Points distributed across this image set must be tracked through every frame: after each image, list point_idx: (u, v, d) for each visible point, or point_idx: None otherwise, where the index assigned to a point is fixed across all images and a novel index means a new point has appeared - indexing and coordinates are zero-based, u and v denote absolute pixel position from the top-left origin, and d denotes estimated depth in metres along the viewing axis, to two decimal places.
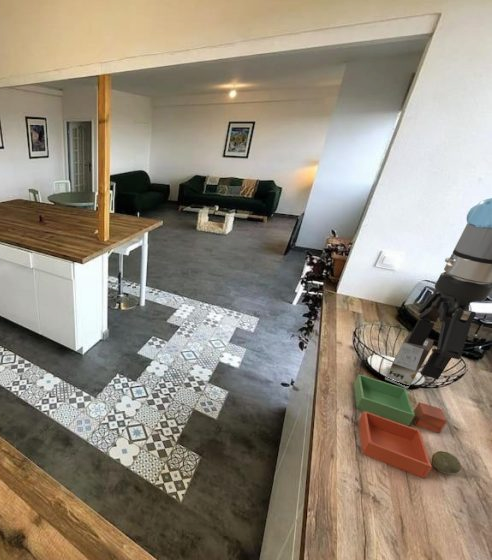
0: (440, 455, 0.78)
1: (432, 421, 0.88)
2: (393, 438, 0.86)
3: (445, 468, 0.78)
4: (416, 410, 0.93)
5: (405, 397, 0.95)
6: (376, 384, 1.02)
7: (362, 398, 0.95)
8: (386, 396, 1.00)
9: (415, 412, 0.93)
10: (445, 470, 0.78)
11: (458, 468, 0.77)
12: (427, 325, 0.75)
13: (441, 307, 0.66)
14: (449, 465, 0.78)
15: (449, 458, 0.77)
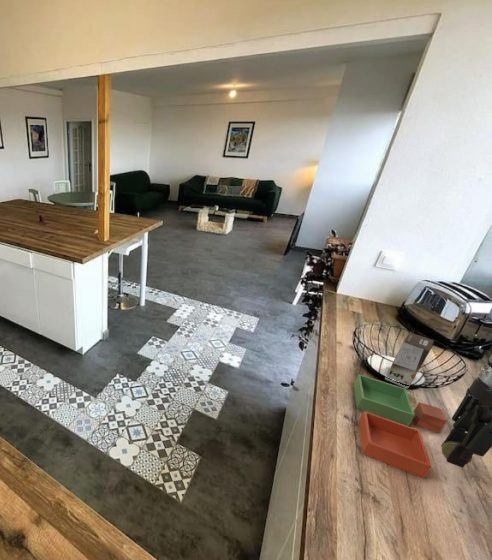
0: (450, 444, 0.76)
1: (432, 421, 0.88)
2: (393, 438, 0.86)
3: None
4: (416, 410, 0.93)
5: (405, 397, 0.95)
6: (376, 384, 1.02)
7: (362, 398, 0.95)
8: (386, 396, 1.00)
9: (415, 412, 0.93)
10: None
11: None
12: (462, 435, 0.76)
13: (475, 410, 0.70)
14: None
15: None
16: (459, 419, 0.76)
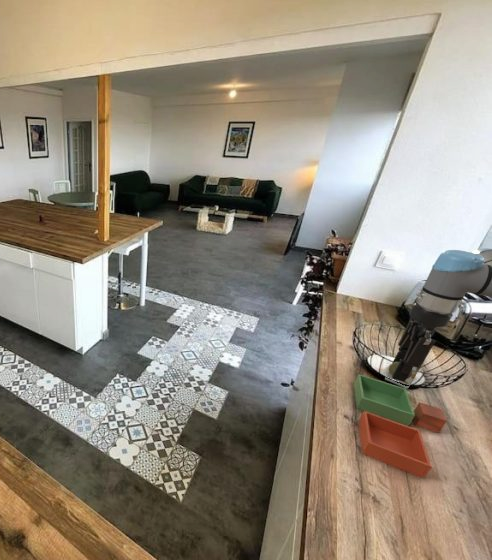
0: (395, 364, 0.91)
1: (432, 421, 0.88)
2: (393, 438, 0.86)
3: None
4: (416, 410, 0.93)
5: (405, 397, 0.95)
6: (376, 384, 1.02)
7: (362, 398, 0.95)
8: (386, 396, 1.00)
9: (415, 412, 0.93)
10: None
11: (409, 374, 0.89)
12: (405, 356, 0.91)
13: (413, 330, 0.85)
14: None
15: None
16: (403, 342, 0.91)
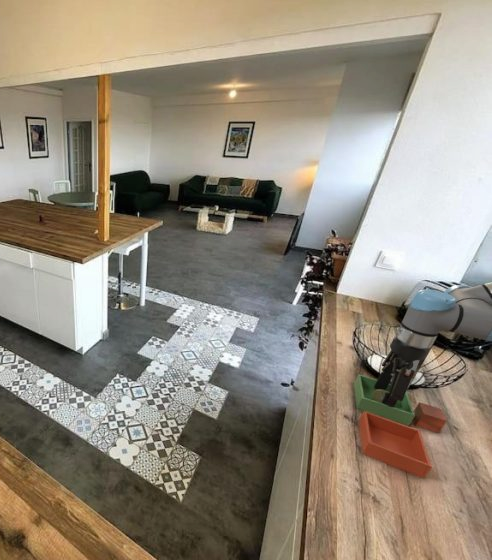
0: (378, 391, 0.97)
1: (432, 421, 0.88)
2: (393, 438, 0.86)
3: None
4: (416, 410, 0.93)
5: (405, 397, 0.95)
6: None
7: (362, 398, 0.95)
8: None
9: (415, 412, 0.93)
10: None
11: None
12: (387, 376, 0.98)
13: (394, 362, 0.90)
14: None
15: (384, 394, 0.96)
16: (385, 365, 0.98)
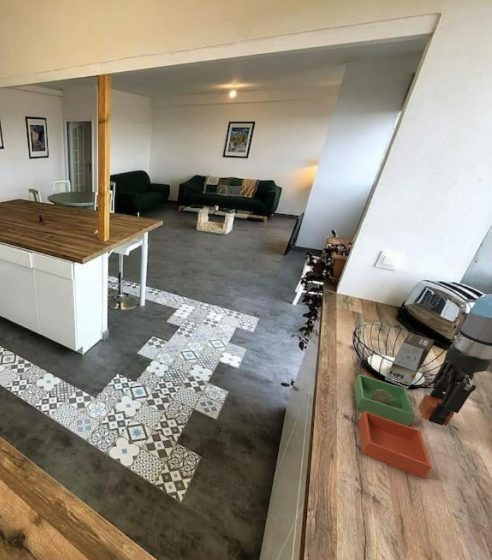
0: (378, 391, 0.97)
1: None
2: (393, 438, 0.86)
3: (381, 402, 0.96)
4: (422, 403, 0.91)
5: (405, 397, 0.95)
6: (376, 384, 1.02)
7: (362, 398, 0.95)
8: None
9: (421, 405, 0.91)
10: None
11: (391, 401, 0.95)
12: (440, 395, 0.89)
13: (450, 373, 0.83)
14: (384, 399, 0.96)
15: (384, 394, 0.96)
16: (438, 382, 0.89)
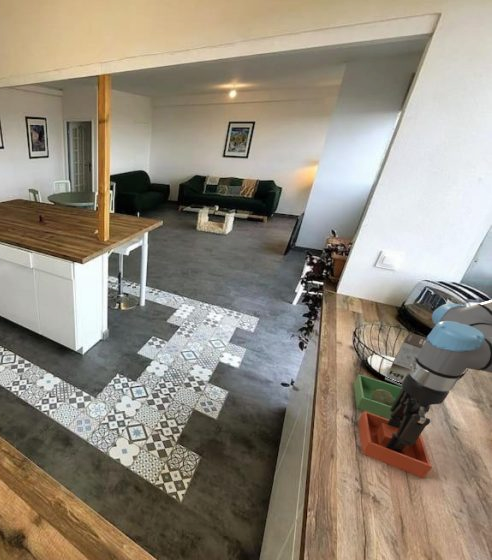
0: (378, 391, 0.97)
1: None
2: None
3: (381, 402, 0.96)
4: (379, 432, 0.85)
5: None
6: (376, 384, 1.02)
7: (362, 398, 0.95)
8: None
9: (378, 434, 0.86)
10: None
11: (391, 401, 0.95)
12: (397, 425, 0.83)
13: (406, 403, 0.77)
14: (384, 399, 0.96)
15: (384, 394, 0.96)
16: (395, 410, 0.83)
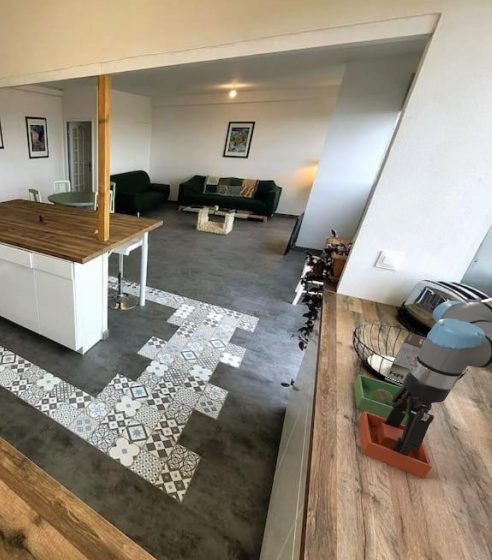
0: (378, 391, 0.97)
1: None
2: None
3: (381, 402, 0.96)
4: (379, 432, 0.85)
5: None
6: (376, 384, 1.02)
7: (362, 398, 0.95)
8: None
9: (378, 434, 0.86)
10: None
11: (391, 401, 0.95)
12: (399, 415, 0.84)
13: (408, 402, 0.76)
14: (384, 399, 0.96)
15: (384, 394, 0.96)
16: (397, 402, 0.84)
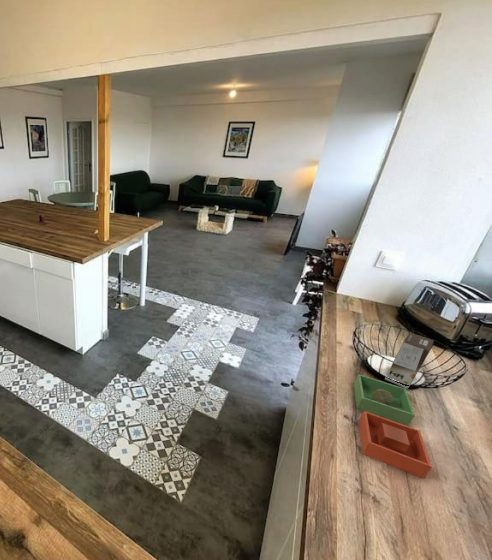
0: (378, 391, 0.97)
1: (394, 445, 0.81)
2: None
3: (381, 402, 0.96)
4: (379, 432, 0.85)
5: (405, 397, 0.95)
6: (376, 384, 1.02)
7: (362, 398, 0.95)
8: None
9: (378, 434, 0.86)
10: None
11: (391, 401, 0.95)
12: None
13: None
14: (384, 399, 0.96)
15: (384, 394, 0.96)
16: None
